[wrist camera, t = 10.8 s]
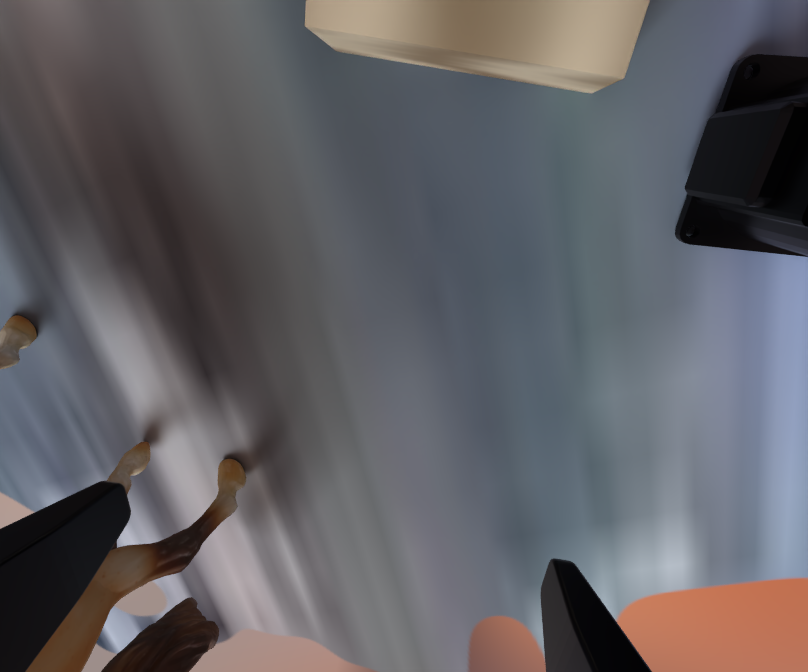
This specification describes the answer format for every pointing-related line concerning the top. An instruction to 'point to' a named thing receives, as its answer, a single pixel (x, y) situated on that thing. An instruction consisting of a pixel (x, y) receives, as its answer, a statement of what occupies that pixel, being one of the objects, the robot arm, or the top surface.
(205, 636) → the horse figurine
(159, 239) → the top surface
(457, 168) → the top surface
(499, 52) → the maple block
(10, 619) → the robot arm
